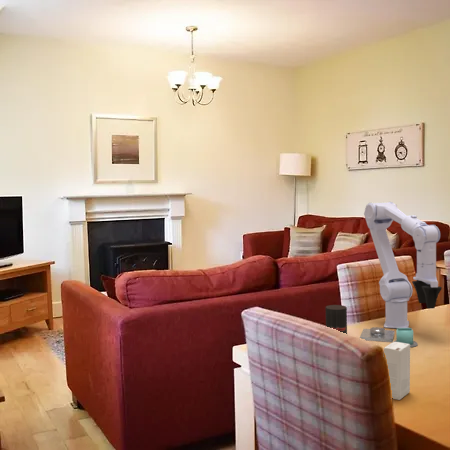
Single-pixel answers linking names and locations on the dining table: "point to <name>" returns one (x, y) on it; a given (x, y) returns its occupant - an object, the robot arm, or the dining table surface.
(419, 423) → the dining table surface
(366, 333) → the post plinth
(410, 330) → the cap
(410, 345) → the coaster
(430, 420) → the dining table surface
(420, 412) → the dining table surface
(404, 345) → the skincare box
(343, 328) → the deodorant
